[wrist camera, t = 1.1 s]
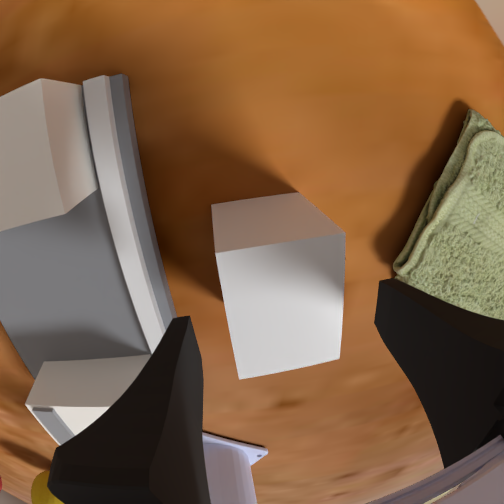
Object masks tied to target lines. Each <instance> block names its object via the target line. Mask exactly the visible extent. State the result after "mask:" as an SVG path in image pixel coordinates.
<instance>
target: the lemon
mask: <svg viewBox="0 0 504 504" xmlns="http://www.w3.org/2000/svg"><path fill="white" fill-rule="evenodd" d="M49 473H50V471H44V472H42V473H40V474H39V475H37V477H36V478H35V479H34V481H33V484H32V489H31V499H32V504H64V503H63V502H62V501H60V500H59V499H57V498H56V497H55V496H54V495H53V494H52V493H51V492H50V490H49V489H48V487H47V482H48V477H49Z"/></svg>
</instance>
